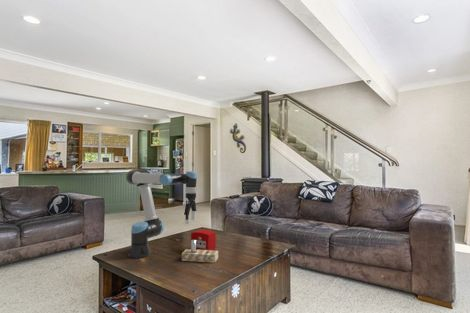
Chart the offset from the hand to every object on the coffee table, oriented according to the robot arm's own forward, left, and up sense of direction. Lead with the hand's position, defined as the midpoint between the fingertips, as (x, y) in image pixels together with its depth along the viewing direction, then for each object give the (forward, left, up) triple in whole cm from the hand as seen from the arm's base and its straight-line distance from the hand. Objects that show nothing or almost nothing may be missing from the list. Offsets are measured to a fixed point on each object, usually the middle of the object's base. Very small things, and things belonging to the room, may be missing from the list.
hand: (190, 222), depth 200 cm
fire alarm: (+5, +18, -26) cm, 32 cm away
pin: (+3, -1, -25) cm, 25 cm away
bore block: (+8, -1, -26) cm, 27 cm away
